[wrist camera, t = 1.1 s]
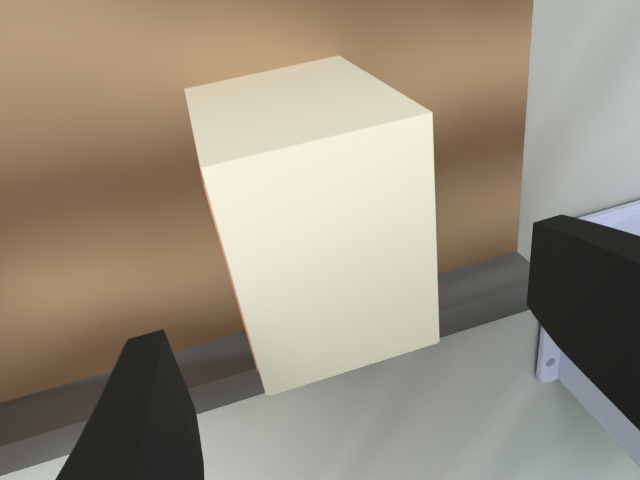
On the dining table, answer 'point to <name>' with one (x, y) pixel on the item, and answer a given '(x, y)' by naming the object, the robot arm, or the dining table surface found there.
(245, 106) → the carton
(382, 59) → the shelf board
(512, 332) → the dining table surface
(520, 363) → the dining table surface
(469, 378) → the dining table surface
